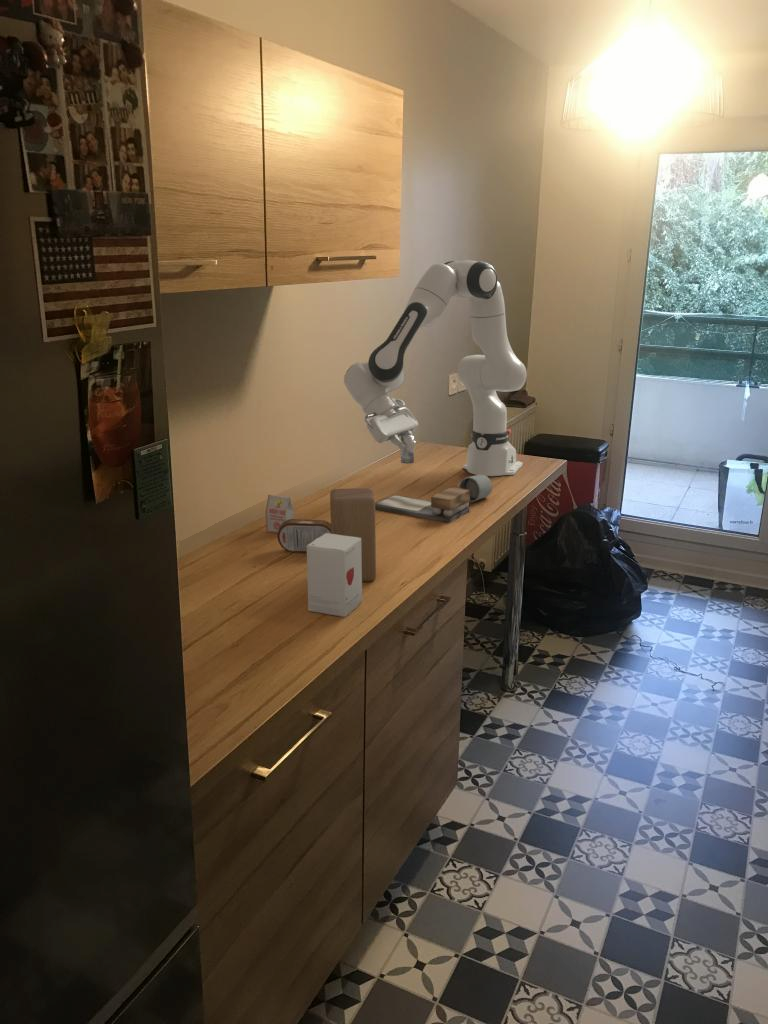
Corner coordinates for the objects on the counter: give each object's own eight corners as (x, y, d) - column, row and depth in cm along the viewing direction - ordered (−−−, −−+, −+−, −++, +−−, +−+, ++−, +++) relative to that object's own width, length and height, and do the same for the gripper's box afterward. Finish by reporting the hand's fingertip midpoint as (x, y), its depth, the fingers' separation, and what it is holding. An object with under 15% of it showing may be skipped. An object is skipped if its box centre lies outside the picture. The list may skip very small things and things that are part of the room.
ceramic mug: (493, 498, 255) (494, 473, 253) (479, 504, 249) (479, 479, 247) (465, 492, 262) (465, 469, 260) (450, 498, 256) (450, 474, 254)
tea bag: (274, 527, 230) (272, 492, 227) (294, 531, 227) (293, 495, 224) (266, 531, 227) (264, 496, 224) (287, 535, 224) (285, 499, 221)
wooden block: (332, 568, 201) (329, 488, 195) (373, 566, 202) (372, 486, 196) (332, 583, 192) (330, 500, 185) (376, 582, 192) (375, 499, 186)
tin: (337, 550, 213) (337, 519, 210) (335, 554, 210) (335, 523, 207) (279, 549, 214) (278, 517, 212) (277, 553, 211) (275, 521, 209)
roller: (405, 459, 252) (405, 433, 250) (416, 461, 250) (416, 435, 248) (398, 462, 249) (398, 436, 247) (409, 464, 247) (409, 437, 245)
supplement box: (345, 618, 174) (343, 550, 169) (307, 611, 177) (304, 545, 173) (363, 602, 182) (362, 537, 177) (326, 595, 185) (324, 531, 181)
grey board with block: (393, 498, 256) (393, 477, 254) (469, 511, 243) (469, 489, 241) (371, 508, 246) (371, 487, 244) (449, 522, 233) (450, 500, 231)
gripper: (368, 409, 240) (397, 446, 238) (405, 399, 256) (432, 434, 254) (355, 423, 244) (384, 460, 241) (393, 412, 260) (420, 446, 258)
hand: (409, 446), depth 248 cm, fingers closed on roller, 4 cm apart
